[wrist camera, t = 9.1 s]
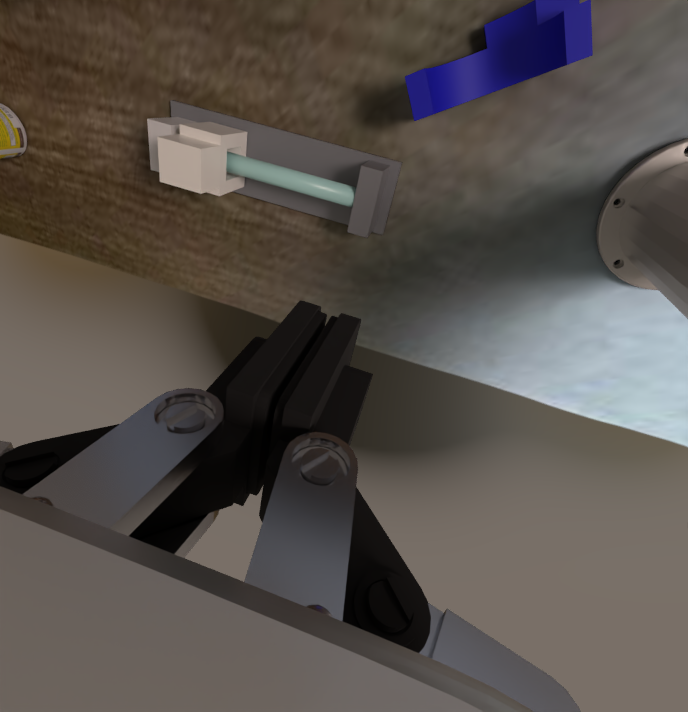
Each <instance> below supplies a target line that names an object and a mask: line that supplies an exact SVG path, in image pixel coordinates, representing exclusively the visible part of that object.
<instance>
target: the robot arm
mask: <svg viewBox="0 0 688 712" xmlns="http://www.w3.org/2000/svg"><path fill="white" fill-rule="evenodd" d="M687 146H688V139H685V140H682V141H678V142H675V143H672V144H670V145H668V146H666V147H664V148H662V149H660V150H657V151H655V152H654V153H652V154H651V155H649V156H648V157H646V158H645V159H643V160H642V161H640V162H639V163H637V164H636V165H635V166H634V167H633V168H632V169H631V170H629V171H628V172H627V173H626V174H625V175H624V176H623V177H622V178H621V180H620V181H619V182H618V183H617V184H616V185H615V187H614V188H613V189H612V191H611V193H610V194H609V196H608V197H607V199H606V201H605V202H604V205H603V207H602V210H601V212H600V215H599V219H598V224H597V229H596V237H597V246H598V250H599V253H600V255H601V257H602V259H603V261H604V263H605V264H606V266H607V267H608V268H609V269H610V270H611V272H613V273H614V274H615V275H616V276H617V277H619V278H620V279H621V280H623V281H625V282H627V283H629V284H631V285H633V286H636V287H640V288H643V289H650V290H659V291H660V292H661V293H662V294H663V295H664V296H665V297H666V298H667V299H668V300H669V301H670V302H671V303H672V304H673V305H674V306H675V307H676V308H677V309H678V310H679V311H680V312H681V313H682V314H683V315H684V316H685V317H686V318H687V319H688V152H686V153H684V150H685V149H686V147H687ZM616 199H619V202H618V203H616V204H614V203H613V202H614V201H615V200H616ZM618 259H619V261H618V262H617V263H614V262H615V261H616V260H618ZM326 318H327V314H325V313H322V312H321V306H317V305H314V304H311V303H308V302H305V301H299V302H298V304H297V305H296V306H295V307H294V308H293V309H292V311H291V312H290V313H289V314H288V315H287V317H286V318H285V319H284V320H283V321H282V322H281V324H280V325H279V326H278V327H277V328H276V330H275V331H274V332H273V333H272V334H271V335H270V337H269V338H268V339H264V338H261V337H255V338H254V339H253V340H252V341H251V342H250V343H249V344H248V345H247V346H246V347H245V349H244V350H243V351H242V352H241V353H240V354H239V355H238V356H237V357H236V358H235V359H234V361H233V362H232V363H231V364H230V365H229V366H228V367H227V368H226V369H225V371H224V372H223V373H222V374H221V375H220V376H219V377H218V378H217V379H216V380H215V382H214V383H213V384H212V385H211V386H210V387H209V388H208V389H207V390H206V391H204V390H201V389H192V388H185V389H176V390H173V391H169V392H166V393H164V394H163V395H160V396H159V397H157V398H155V399H154V400H153V401H151V402H150V403H149V404H147V405H146V406H144V407H143V408H142V409H140V410H139V411H137V412H136V413H135V414H133V415H132V416H131V417H129V418H128V419H126V420H125V421H124V422H122V423H121V424H117V425H113V426H108V427H103V428H98V429H93V430H89V431H84V432H79V433H74V434H69V435H65V436H60V437H55V438H50V439H45V440H40V441H36V442H32V443H28V444H25V445H22V446H19V447H16V448H13V446H12V444H11V442H3V441H0V712H581V711H580V709H579V707H578V706H577V704H576V703H575V701H574V700H573V698H572V697H571V696H570V694H569V693H568V691H567V690H566V689H565V688H564V687H563V686H562V685H560V684H559V683H558V682H557V681H556V680H555V679H554V678H552V677H551V676H550V675H548V674H547V673H545V672H544V671H542V670H540V669H539V668H538V667H536V666H534V665H533V664H531V663H530V662H528V661H527V660H525V659H524V658H522V657H521V656H519V655H518V654H516V653H514V652H513V651H511V650H510V649H508V648H507V647H505V646H504V645H502V644H500V643H499V642H498V641H496V640H495V639H493V638H492V637H490V636H488V635H487V634H485V633H484V632H482V631H481V630H479V629H478V628H476V627H475V626H473V625H472V624H470V623H468V622H467V621H465V620H464V619H462V618H461V617H459V616H458V615H456V614H455V613H453V612H452V611H450V610H449V609H446V611H445V612H444V613H443V612H442V611H440V610H438V609H437V608H435V607H434V606H433V605H431V604H430V603H428V601H427V599H426V597H425V596H424V593H423V591H422V589H421V587H420V586H419V584H418V583H417V581H416V580H415V578H414V576H413V575H412V573H411V572H410V570H409V569H408V567H407V565H406V564H405V562H404V561H403V559H402V558H401V556H400V555H399V553H398V551H397V550H396V548H395V547H394V545H393V544H392V542H391V540H390V539H389V537H388V536H387V534H386V533H385V531H384V530H383V528H382V526H381V525H380V523H379V522H378V520H377V519H376V517H375V515H374V514H373V512H372V511H371V509H370V508H369V506H368V504H367V503H366V501H365V500H364V499H363V497H362V495H361V494H360V492H359V490H358V489H357V487H356V483H357V474H358V462H357V458H356V456H355V454H354V452H353V450H352V449H351V448H350V443H351V440H352V437H353V434H354V431H355V429H356V425H357V423H358V420H359V417H360V414H361V411H362V408H363V404H364V401H365V398H366V395H367V392H368V389H369V386H370V382H371V379H372V375H373V374H371V373H368V372H365V371H362V370H359V369H356V368H353V367H350V366H349V365H350V361H351V358H352V354H353V350H354V346H355V343H356V339H357V335H358V331H359V327H360V323H361V319H359V318H355V317H352V316H349V315H346V314H343V313H341V314H340V316H339V317H334V316H332V317H331V318H330V319H329V321H328V323H327V324H326V326H325V323H326ZM263 484H264V486H263ZM262 486H263V492H262V500H261V506H260V513H259V516H260V519H261V521H262V526H261V529H260V532H259V535H258V539H257V542H256V545H255V549H254V552H253V555H252V558H251V562H250V565H249V568H248V571H247V574H246V578H245V581H244V582H243V581H240V580H238V579H235V578H232V577H230V576H228V575H225V574H222V573H220V572H218V571H215V570H212V569H210V568H207V567H205V566H202V565H200V564H197V563H195V562H192V561H189V560H187V559H185V556H186V555H187V554H188V553H189V551H190V550H191V549H192V548H193V546H194V545H195V544H196V543H197V542H198V540H199V539H200V538H201V537H202V535H203V534H204V533H205V532H206V531H207V529H208V528H209V527H210V526H211V524H212V523H213V522H214V520H215V519H216V517H217V515H218V513H219V510H220V509H223V508H226V507H228V506H231V505H233V503H236V504H239V505H241V506H243V505H244V503H245V501H246V499H247V498H248V496H249V494H253V495H257V494H258V493H259V492H260V490H261V488H262Z"/></svg>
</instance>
